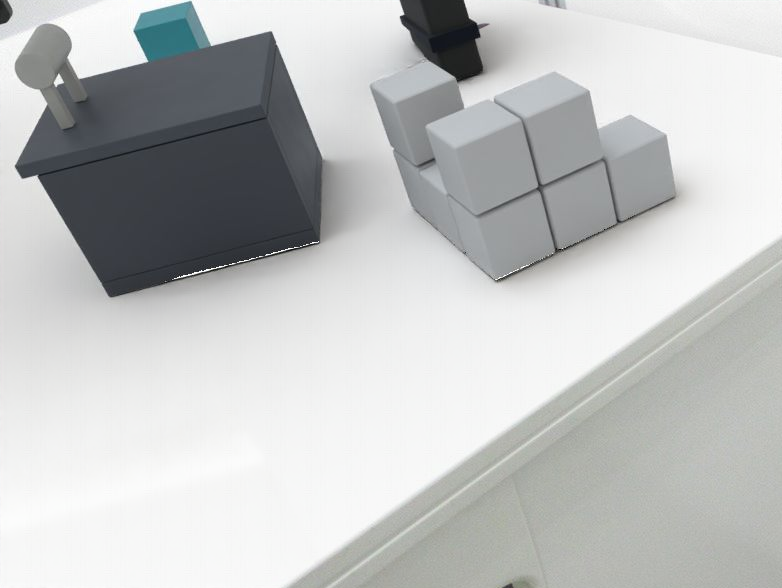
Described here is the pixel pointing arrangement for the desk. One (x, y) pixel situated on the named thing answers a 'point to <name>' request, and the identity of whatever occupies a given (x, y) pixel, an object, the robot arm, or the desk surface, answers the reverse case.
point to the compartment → (197, 197)
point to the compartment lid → (138, 98)
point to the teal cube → (170, 31)
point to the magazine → (444, 34)
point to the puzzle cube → (518, 164)
